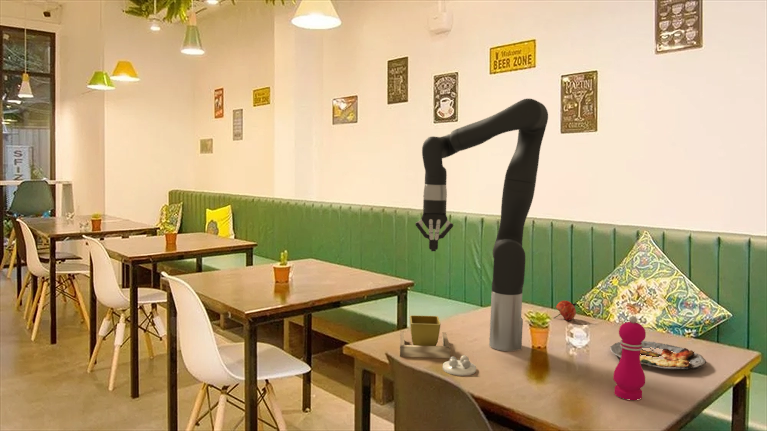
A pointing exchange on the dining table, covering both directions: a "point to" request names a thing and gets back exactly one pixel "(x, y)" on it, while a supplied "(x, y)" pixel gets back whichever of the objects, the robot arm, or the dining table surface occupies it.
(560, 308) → the pomegranate
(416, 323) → the flower pot
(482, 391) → the dining table surface
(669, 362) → the food plate
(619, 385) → the pepper mill
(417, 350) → the beech tray
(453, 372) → the pebble dish
